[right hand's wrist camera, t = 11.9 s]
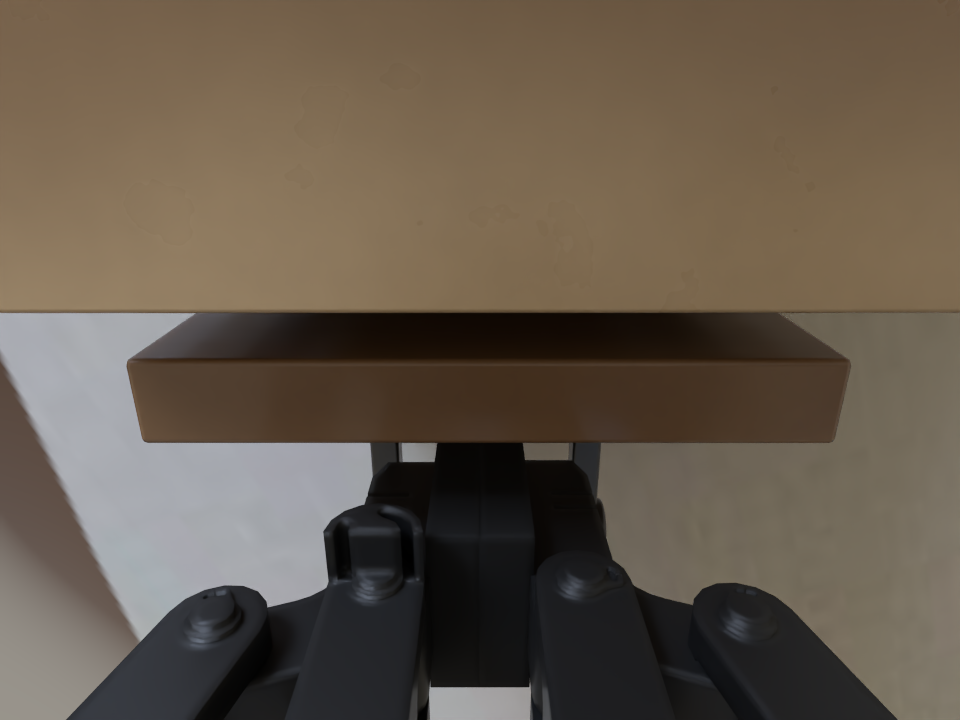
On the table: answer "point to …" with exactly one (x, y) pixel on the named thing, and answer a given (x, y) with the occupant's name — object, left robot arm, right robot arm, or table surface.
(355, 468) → the table surface
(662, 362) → the drawer
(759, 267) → the cabinet
